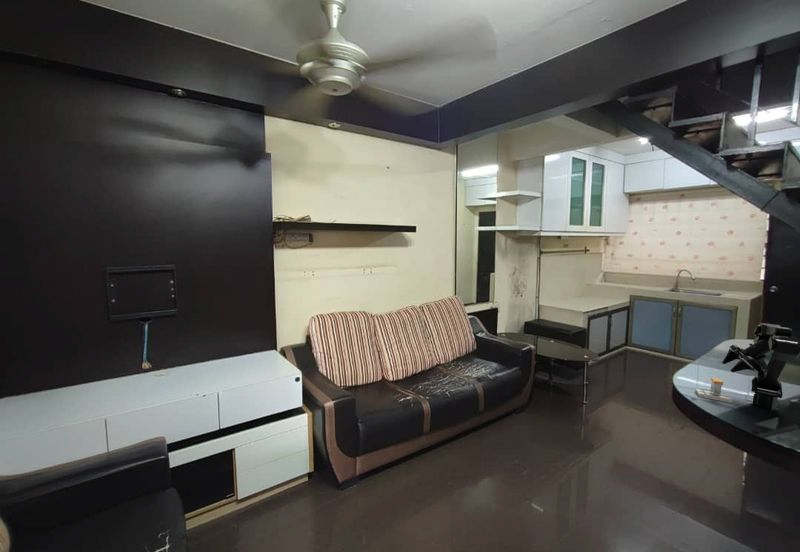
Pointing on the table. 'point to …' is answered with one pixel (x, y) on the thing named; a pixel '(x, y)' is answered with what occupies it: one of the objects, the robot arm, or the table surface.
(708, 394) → the block
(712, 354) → the table surface
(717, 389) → the handle
